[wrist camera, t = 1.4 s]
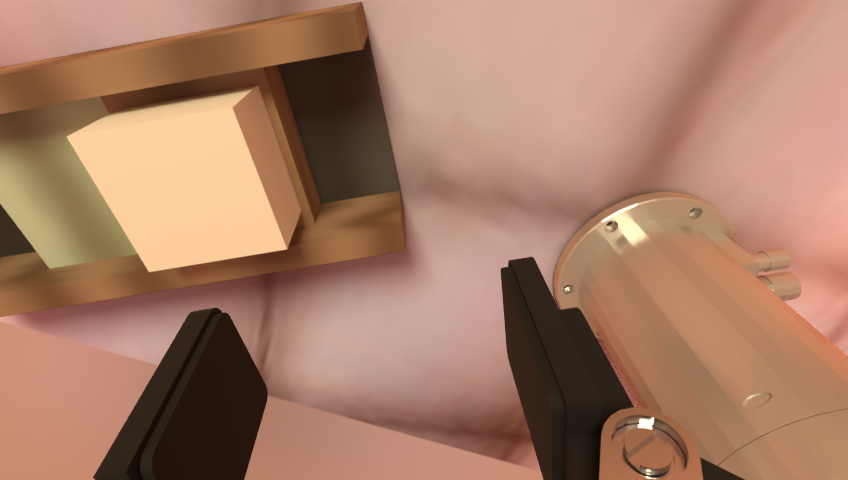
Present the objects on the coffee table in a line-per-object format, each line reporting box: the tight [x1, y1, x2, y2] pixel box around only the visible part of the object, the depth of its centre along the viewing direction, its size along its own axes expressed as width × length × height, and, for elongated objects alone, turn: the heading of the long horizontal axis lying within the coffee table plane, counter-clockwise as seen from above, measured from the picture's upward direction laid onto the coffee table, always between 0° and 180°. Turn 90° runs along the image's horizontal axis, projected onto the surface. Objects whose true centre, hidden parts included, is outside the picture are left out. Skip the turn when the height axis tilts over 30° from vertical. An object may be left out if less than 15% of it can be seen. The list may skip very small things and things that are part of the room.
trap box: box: [0, 2, 406, 317], centre depth 24 cm, size 28×12×5 cm, turn 99°
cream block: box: [67, 85, 301, 272], centre depth 22 cm, size 7×7×4 cm
